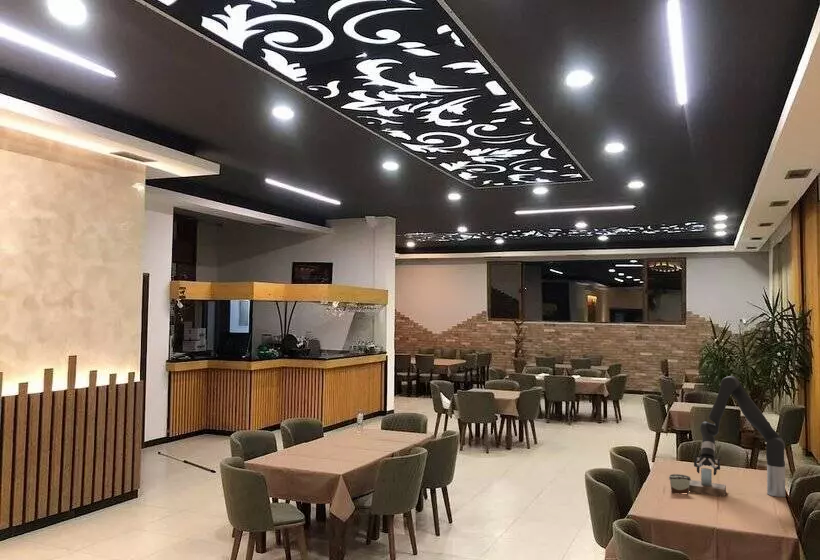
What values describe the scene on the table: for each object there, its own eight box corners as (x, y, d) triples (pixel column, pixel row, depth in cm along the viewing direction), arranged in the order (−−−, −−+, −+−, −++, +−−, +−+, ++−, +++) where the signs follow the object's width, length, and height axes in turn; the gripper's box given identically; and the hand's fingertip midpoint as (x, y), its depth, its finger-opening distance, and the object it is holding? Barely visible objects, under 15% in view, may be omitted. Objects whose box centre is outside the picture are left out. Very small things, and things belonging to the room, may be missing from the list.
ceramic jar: (711, 484, 381) (711, 469, 382) (711, 486, 376) (711, 470, 377) (701, 482, 384) (701, 467, 384) (700, 484, 379) (700, 469, 379)
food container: (687, 491, 379) (687, 474, 379) (691, 494, 373) (691, 477, 373) (666, 490, 380) (666, 473, 380) (669, 493, 374) (669, 476, 374)
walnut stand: (725, 491, 381) (725, 484, 381) (724, 497, 369) (724, 490, 369) (689, 486, 391) (689, 479, 391) (686, 491, 379) (686, 484, 379)
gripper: (694, 445, 391) (692, 468, 381) (720, 448, 384) (719, 471, 374) (695, 452, 396) (693, 475, 385) (721, 455, 389) (720, 479, 378)
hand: (706, 473), depth 380 cm, fingers open, 8 cm apart
